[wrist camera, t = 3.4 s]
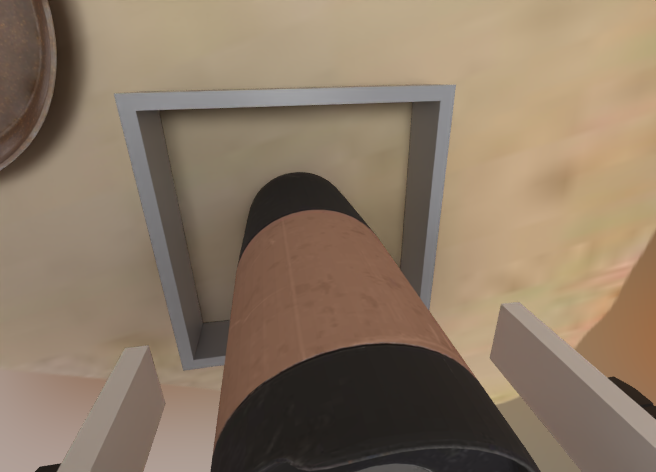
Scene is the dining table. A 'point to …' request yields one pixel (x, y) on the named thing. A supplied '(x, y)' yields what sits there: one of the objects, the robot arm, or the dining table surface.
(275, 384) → the travel mug
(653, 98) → the dining table surface
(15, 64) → the plant saucer
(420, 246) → the grey open square frame
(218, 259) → the dining table surface
